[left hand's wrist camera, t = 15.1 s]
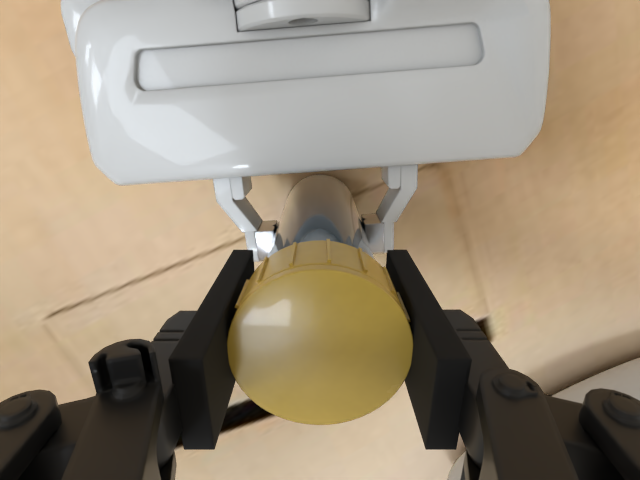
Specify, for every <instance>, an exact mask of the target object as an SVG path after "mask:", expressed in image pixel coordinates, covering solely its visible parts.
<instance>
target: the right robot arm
mask: <svg viewBox="0 0 640 480" xmlns="http://www.w3.org/2000/svg"><path fill="white" fill-rule="evenodd" d="M61 13H62V17H63V21H64V24H65V28H66V32H67V35H68V39H69V43H70V46H71V49H72V51H73V53H74V55H75V57H76V68H77V77H78V86H79V94H80V101H81V107H82V113H83V119H84V124H85V130H86V135H87V139H88V144H89V149H90V152H91V156H92V159H93V162H94V164H95V166H96V167H97V168H98V169H99V170H100V171H101V172H102V173H103V174H105V175H106V176H107V177H108V178H109V179H110V180H111V181H112V182H113V183H115V184H117V185H137V184H151V183H165V182H179V181H193V180H207V179H213V183H214V189H215V194H216V200H217V203H218V204H219V205H220V206H221V207H222V209H223V210H224V211H225V212H226V213H227V215H228V216H229V217H230V218H231V219H232V221H233V222H234V223H235V224H236V225H237V227H238V228H239V229H240V230H241V231H242V232H245V237H246V244H247V250H253V258H254V262H258V261H263V260H264V258H265V257H266V256H267V255H268V252H269V249H270V246H271V243H272V240H273V238H274V235H275V232H276V229H277V226H278V224H277V220H276V221H262V219H261V218H260V216H259V215H258V214H257V212H256V211H255V209H254V208H253V207H252V205H251V204H250V203H249V201H248V200H247V198H246V197H245V196H246V195H247V194H248V192H249V191H250V190H251V189H252V184H251V176H262V175H276V174H290V173H304V172H317V171H331V170H345V169H359V168H373V167H381V172H382V180H383V181H384V182H385V183H386V185H387V186H388V187H389V189H388V191H387V193H386V194H385V196H384V198H383V200H382V202H381V204H380V206H379V208H378V209H377V211H376V213H374V214H363V215H361V222H362V225H363V228H364V231H365V233H366V236H367V239H368V242H369V245H370V248H371V250H372V253H373V254H377V253H387V250H394V222H397V220H398V218H399V217H400V215H401V213H402V212H403V210H404V209H405V207H406V205H407V204H408V202H409V200H410V199H411V197H412V196H413V194H414V192H415V191H416V189H417V176H418V164H428V163H442V162H456V161H470V160H484V159H498V158H511V157H517V156H520V155H521V154H522V153H523V152H524V151H525V150H526V149H527V148H528V146H529V145H530V144H531V143H532V142H533V140H534V139H535V138H536V137H537V135H538V134H539V132H540V130H541V127H542V124H543V119H544V114H545V107H546V98H547V89H548V78H549V64H550V42H551V13H550V3H549V0H61Z"/></svg>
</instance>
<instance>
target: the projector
mask: <svg viewBox="0 0 640 480" xmlns="http://www.w3.org/2000/svg"><path fill="white" fill-rule="evenodd" d="M599 388H603V389H610V390H616V391H619V392H621V393H625V394H627V395H630V396H632V397H634V398H636V399H638V400H639V401H640V357H639V358H637V359H634V360H631V361H629V362H626V363H623V364H621V365H618V366H616V367H613V368H611V369H609V370H606V371H604V372H601V373H599V374H597V375H594V376H592V377H590V378H588V379H585V380H583V381H581V382H579V383H577V384H574V385H572V386H570V387H568V388H566V389H564V390H562V391H560V392H558V393H556V394H554V395H552V397H556V398H560V399H565V400H569V401H573V402H578V403H582V404H583V401H584V398H585V394H586V393H588V392H589V391H590V390H592V389H599ZM465 452H466V451H465ZM465 452H464V453H463V454H462V455H461V456H460V457H459V458H458V459H457V461H456V462H455V464H454V465H453V467H452V468H451V470H450V472H449V475H448V479H447V480H460V479H461V473H462V468H463V463H464V457H465Z"/></svg>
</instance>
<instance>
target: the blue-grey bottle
mask: <svg viewBox="0 0 640 480" xmlns="http://www.w3.org/2000/svg"><path fill="white" fill-rule="evenodd" d="M326 239H330V241H334V242H339V243H344V244H347V245H350V246H352V247H355V248H357V249H358V248H359V247H360V248H362V251H363V252H365V253H366V254H368V255H369V256H371V257H372V258H373V259H374V256H373V253H372V250H371V248H370V245H369V242H368V239H367V236H366V233H365V231H364V228H363V225H362V222H361V219H360V216H359V214H358V211H357V208H356V205H355V202H354V199H353V197H352V194H351V192H350V191H349V189H348V188H347V186H346V185H345V184H344V183H343V182H341V181H340V180H338V179H337V178H335V177H332V176H329V175H322V174H318V175H312V176H308V177H306V178H304V179H302V180H301V181H299V182H298V183H297V184H296V185H295V186H294V187H293V188H292V190H291V191H290V193H289V195H288V198H287V201H286V204H285V207H284V209H283V212H282V215H281V218H280V221H279V224H278V226H277V229H276V232H275V235H274V238H273V240H272V243H271V246H270V249H269V252H268V255H267V257H270V256H271V255H272V254H274V253H276V252H277V251H279V250H281V249H283V248H286V247H288V246H290V245H293V242H296V243H300V242H307V241H318V240H324V241H326ZM374 260H375V259H374Z"/></svg>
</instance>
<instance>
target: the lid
mask: <svg viewBox="0 0 640 480" xmlns="http://www.w3.org/2000/svg"><path fill="white" fill-rule="evenodd" d="M235 308H237V310H236V312H235V315H234V317H233V320H232V322H231V325H230V328H229V332H228V338H227V349H228V358H229V365H230V368H231V371H232V374H233V376H234V378H235V380H236V381H237V383H238V384H239V386H240V387H241V389H242V390H243V391H244V392H245V394H246V395H247V396H248V397H249V398H250V399H251V400H253V401H254V402H255V403H256V404H257V405H259V406H260V407H262V408H263V409H265V410H266V411H268V412H270V413H272V414H274V415H276V416H278V417H281V418H283V419H286V420H290V421H293V422H297V423H303V424H312V425H330V424H337V423H343V422H347V421H351V420H354V419H357V418H360V417H362V416H364V415H367V414H369V413H371V412H372V411H374V410H376V409H377V408H379V407H380V406H382V405H383V404H384V403H386V402H387V401H388V400H389V399H390V398H391V397H392V396H393V395H394V394H395V393H396V392H397V390H398V389H399V388H400V387H401V385H402V384H403V382H404V380H405V378H406V377H407V374H408V372H409V369H410V366H411V361H412V352H413V335H412V331H411V328H410V324H409V322H411V321H410V318H409V315H408V313H407V311H406V308H405V306H404V303H403V301H402V299H401V296H400V294H399V292H396V290H395V287H394V285H393V283H392V281H391V279H390V276H389V274H388V271H387V269H386V267H385V266H384V267H383V268H382V266H381V265H380V264H379V263H378V262H377V261H376V260H374V259H373V258H372V257H371V256H369V255H368V254H366V253H365V252H363V251H362V248H360V247H359V248H358V249H357V248H355V247H352V246H350V245H347V244H344V243H339V242H334V241H330V239H326V241H324V240H318V241H307V242H300V243H296V242H293V245H290V246H288V247H286V248H283V249H281V250H279V251H277V252H276V253H274V254H272V255H271V256H270V257H267V256H266V257H265V258H264V260H263V262H262V264H261V265H260V266H259V267H258V268H257V269H256V270H255V272H254V273H253V274H252V276H251V278H250V280H248V279H247V280H246V282H245V284H244V286H243V289H242V291H241V293H240V296H239V298H238V300H237V303H236V305H235Z"/></svg>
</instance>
